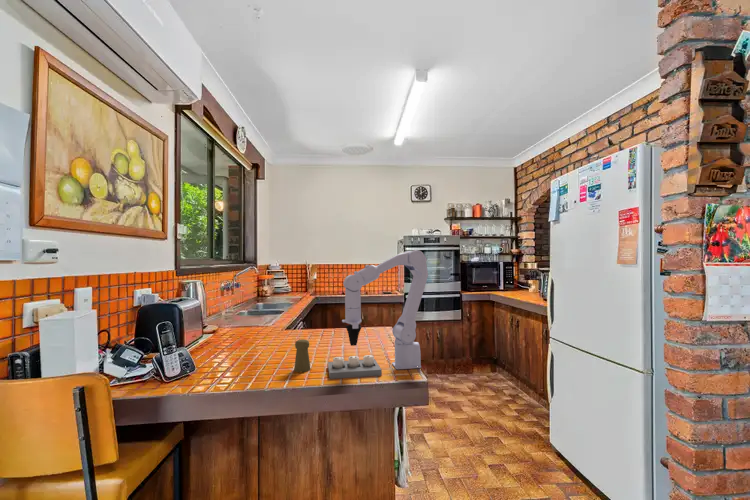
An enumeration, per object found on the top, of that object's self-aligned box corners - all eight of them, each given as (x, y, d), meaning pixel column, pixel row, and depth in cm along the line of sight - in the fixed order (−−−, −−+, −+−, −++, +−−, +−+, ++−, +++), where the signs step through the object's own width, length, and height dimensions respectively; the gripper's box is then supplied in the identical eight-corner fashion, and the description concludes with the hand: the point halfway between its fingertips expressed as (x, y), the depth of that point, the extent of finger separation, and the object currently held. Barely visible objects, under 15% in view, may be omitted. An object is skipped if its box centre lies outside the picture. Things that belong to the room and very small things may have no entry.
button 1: (372, 362, 137) (372, 354, 137) (374, 365, 134) (374, 357, 134) (362, 363, 137) (362, 355, 137) (364, 366, 133) (364, 357, 133)
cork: (312, 367, 140) (312, 338, 140) (308, 372, 134) (307, 341, 134) (296, 367, 140) (296, 338, 140) (291, 372, 134) (291, 341, 134)
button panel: (374, 364, 143) (374, 359, 143) (381, 375, 129) (381, 369, 129) (328, 367, 139) (327, 361, 139) (329, 378, 126) (329, 373, 126)
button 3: (343, 364, 135) (343, 356, 135) (344, 367, 132) (344, 359, 132) (332, 365, 135) (332, 356, 135) (333, 368, 131) (333, 359, 131)
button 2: (358, 363, 136) (358, 355, 136) (359, 366, 133) (359, 358, 133) (348, 364, 136) (347, 356, 136) (349, 367, 132) (348, 358, 132)
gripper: (340, 305, 141) (340, 341, 141) (343, 310, 127) (344, 350, 127) (358, 305, 142) (359, 340, 142) (364, 310, 128) (364, 349, 128)
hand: (353, 345), depth 134 cm, fingers closed
